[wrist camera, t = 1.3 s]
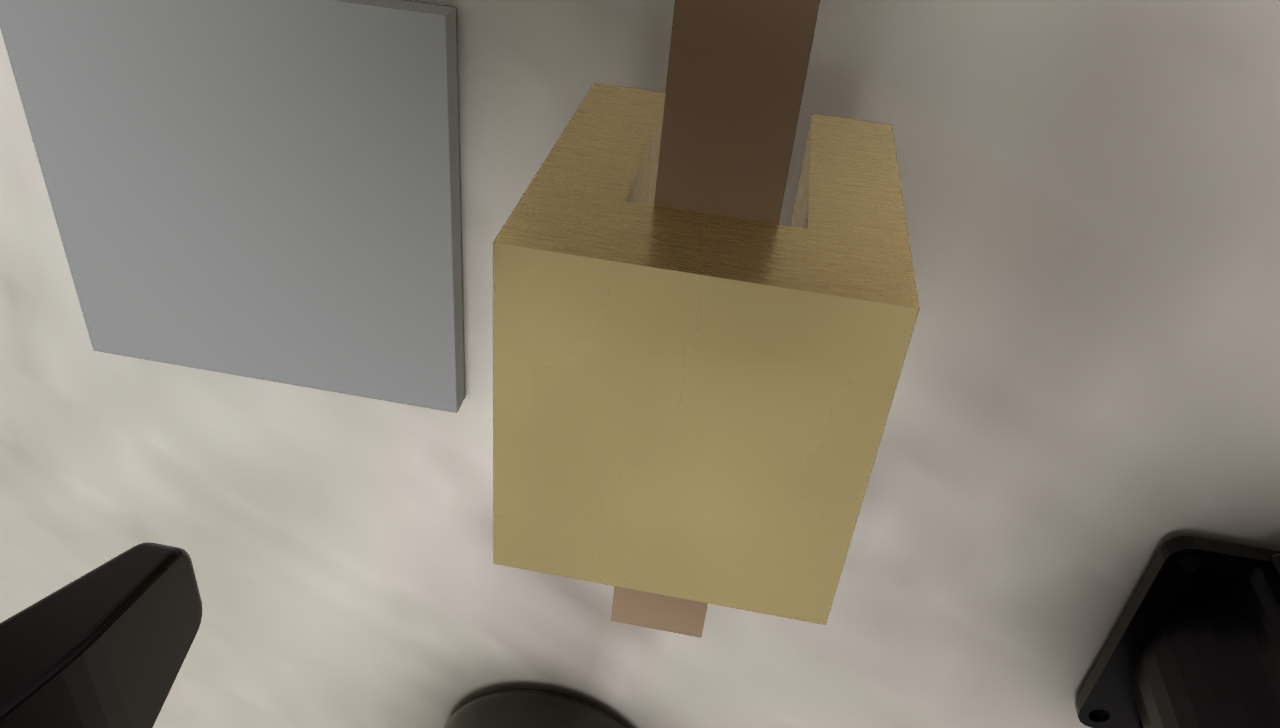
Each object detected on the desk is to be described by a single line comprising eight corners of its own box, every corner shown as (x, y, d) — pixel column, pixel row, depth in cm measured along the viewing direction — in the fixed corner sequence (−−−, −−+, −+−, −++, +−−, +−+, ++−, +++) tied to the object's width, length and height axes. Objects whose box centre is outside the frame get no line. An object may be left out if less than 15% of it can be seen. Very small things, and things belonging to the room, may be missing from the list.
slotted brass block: (826, 389, 17) (825, 625, 13) (578, 348, 18) (494, 563, 13) (891, 124, 15) (919, 308, 10) (594, 83, 15) (492, 242, 10)
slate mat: (464, 397, 23) (456, 412, 22) (108, 337, 24) (93, 350, 23) (455, 7, 18) (445, 16, 17) (1, -54, 18) (-22, -48, 18)
